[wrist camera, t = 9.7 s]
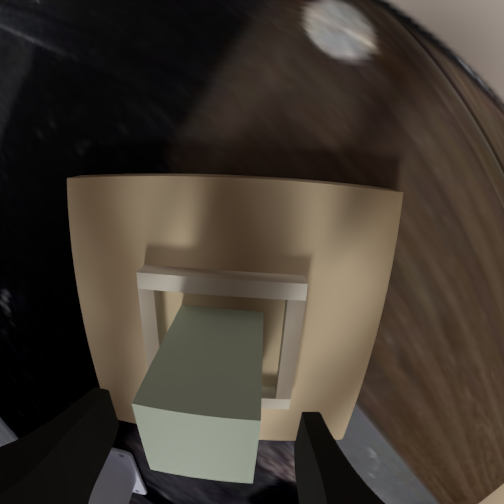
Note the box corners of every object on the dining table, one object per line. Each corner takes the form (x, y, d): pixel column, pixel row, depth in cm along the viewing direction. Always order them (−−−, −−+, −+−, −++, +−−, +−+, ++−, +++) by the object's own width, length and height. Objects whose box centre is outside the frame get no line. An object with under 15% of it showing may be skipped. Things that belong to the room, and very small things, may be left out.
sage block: (185, 368, 16) (150, 469, 10) (181, 304, 15) (131, 403, 9) (257, 375, 16) (252, 483, 10) (263, 311, 15) (260, 420, 8)
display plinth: (117, 404, 20) (105, 427, 17) (81, 175, 15) (55, 180, 13) (338, 424, 19) (344, 450, 17) (391, 188, 14) (412, 195, 12)
